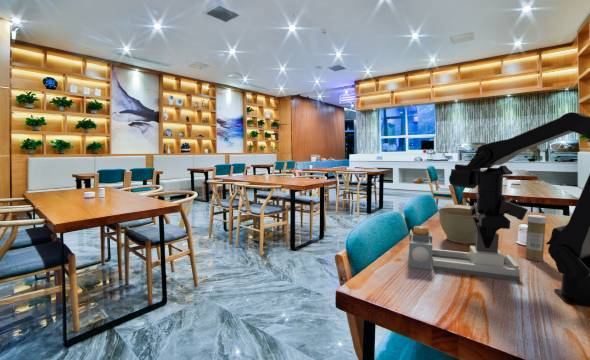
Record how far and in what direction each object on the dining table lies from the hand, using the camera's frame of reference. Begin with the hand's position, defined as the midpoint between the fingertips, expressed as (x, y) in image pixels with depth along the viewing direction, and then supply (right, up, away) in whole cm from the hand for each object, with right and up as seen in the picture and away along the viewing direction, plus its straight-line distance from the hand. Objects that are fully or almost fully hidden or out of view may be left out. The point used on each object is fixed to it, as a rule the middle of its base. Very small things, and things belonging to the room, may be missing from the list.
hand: (486, 246), depth 86 cm
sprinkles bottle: (+20, -6, +9) cm, 23 cm away
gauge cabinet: (-16, -6, +7) cm, 18 cm away
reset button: (-16, +2, +6) cm, 17 cm away
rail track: (-3, -6, +2) cm, 7 cm away
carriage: (0, -5, 0) cm, 5 cm away
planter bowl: (+8, -4, +28) cm, 30 cm away
